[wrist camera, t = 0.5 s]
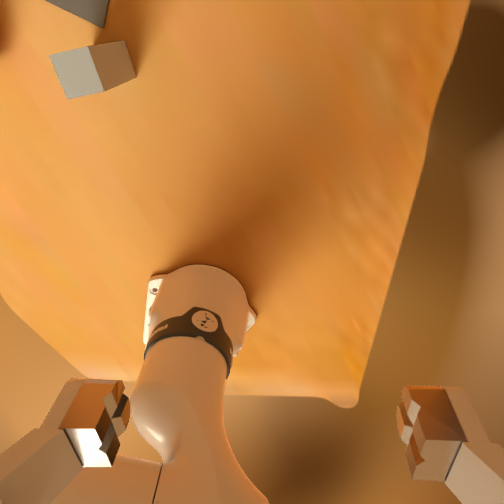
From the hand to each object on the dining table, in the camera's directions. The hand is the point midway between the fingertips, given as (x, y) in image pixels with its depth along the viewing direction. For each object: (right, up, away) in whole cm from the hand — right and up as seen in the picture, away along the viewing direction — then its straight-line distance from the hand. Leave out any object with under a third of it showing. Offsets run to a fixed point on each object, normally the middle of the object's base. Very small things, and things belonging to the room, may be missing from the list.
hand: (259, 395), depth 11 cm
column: (-16, +27, +34) cm, 46 cm away
